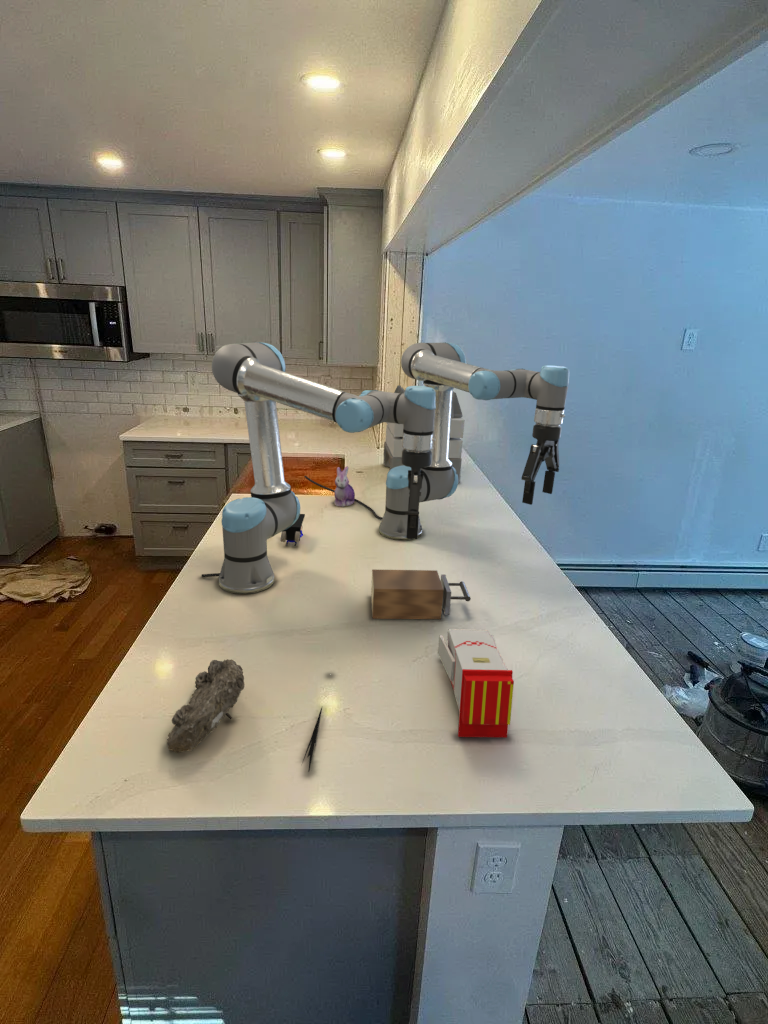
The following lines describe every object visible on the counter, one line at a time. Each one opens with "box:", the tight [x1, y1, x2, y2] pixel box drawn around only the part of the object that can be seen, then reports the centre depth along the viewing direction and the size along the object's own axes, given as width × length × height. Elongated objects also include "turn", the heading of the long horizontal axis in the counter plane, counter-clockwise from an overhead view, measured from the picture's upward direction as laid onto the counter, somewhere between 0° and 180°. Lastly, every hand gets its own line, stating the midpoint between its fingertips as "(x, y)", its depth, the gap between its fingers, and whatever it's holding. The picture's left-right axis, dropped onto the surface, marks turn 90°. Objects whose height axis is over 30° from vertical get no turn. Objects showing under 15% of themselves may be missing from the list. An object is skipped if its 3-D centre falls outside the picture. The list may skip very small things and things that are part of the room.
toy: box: [437, 628, 515, 738], centre depth 117 cm, size 12×13×30 cm
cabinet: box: [370, 569, 443, 620], centre depth 149 cm, size 18×11×8 cm, turn 93°
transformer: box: [383, 384, 465, 484], centre depth 268 cm, size 34×33×41 cm
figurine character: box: [280, 513, 306, 547], centre depth 189 cm, size 7×8×15 cm
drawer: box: [440, 574, 472, 616], centre depth 149 cm, size 22×10×7 cm, turn 93°
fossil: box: [166, 658, 245, 754], centre depth 106 cm, size 22×10×15 cm
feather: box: [301, 673, 332, 771], centre depth 108 cm, size 2×28×2 cm
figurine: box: [333, 466, 356, 507], centre depth 225 cm, size 9×10×15 cm
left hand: (412, 528), depth 149 cm, fingers open, 13 cm apart
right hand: (537, 498), depth 162 cm, fingers open, 13 cm apart
